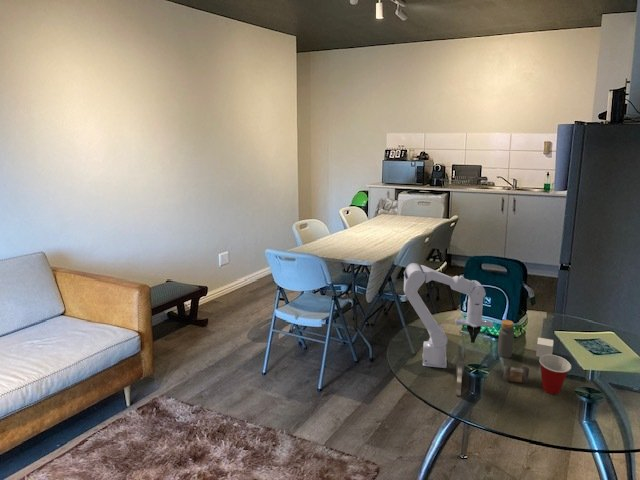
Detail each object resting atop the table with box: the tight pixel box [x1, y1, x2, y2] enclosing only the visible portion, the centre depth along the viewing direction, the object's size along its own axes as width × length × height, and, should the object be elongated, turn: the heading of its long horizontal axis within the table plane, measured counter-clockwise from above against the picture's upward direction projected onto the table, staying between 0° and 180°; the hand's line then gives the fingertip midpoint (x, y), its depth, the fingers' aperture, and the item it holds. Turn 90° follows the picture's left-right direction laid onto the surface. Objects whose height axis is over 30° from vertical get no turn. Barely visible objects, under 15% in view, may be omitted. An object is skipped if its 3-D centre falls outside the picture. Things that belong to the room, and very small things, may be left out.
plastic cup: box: [538, 354, 572, 395], centre depth 182 cm, size 11×11×12 cm
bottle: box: [497, 319, 515, 359], centre depth 207 cm, size 6×6×15 cm
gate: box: [455, 366, 463, 396], centre depth 187 cm, size 13×2×5 cm, turn 163°
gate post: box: [455, 359, 465, 377], centre depth 195 cm, size 3×3×6 cm
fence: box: [502, 364, 530, 385], centre depth 190 cm, size 9×2×6 cm, turn 76°
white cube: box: [535, 337, 554, 358], centre depth 208 cm, size 6×6×6 cm
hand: (472, 341), depth 202 cm, fingers closed
